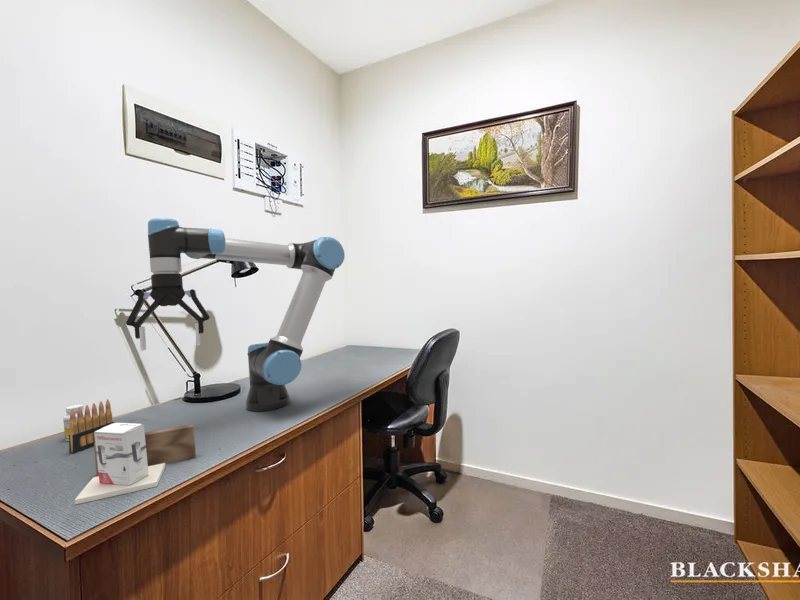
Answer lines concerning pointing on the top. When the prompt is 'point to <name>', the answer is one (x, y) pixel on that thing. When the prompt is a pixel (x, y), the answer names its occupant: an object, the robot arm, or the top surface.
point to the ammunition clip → (87, 426)
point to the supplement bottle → (67, 418)
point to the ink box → (121, 453)
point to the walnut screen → (167, 445)
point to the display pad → (119, 486)
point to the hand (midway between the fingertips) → (171, 347)
